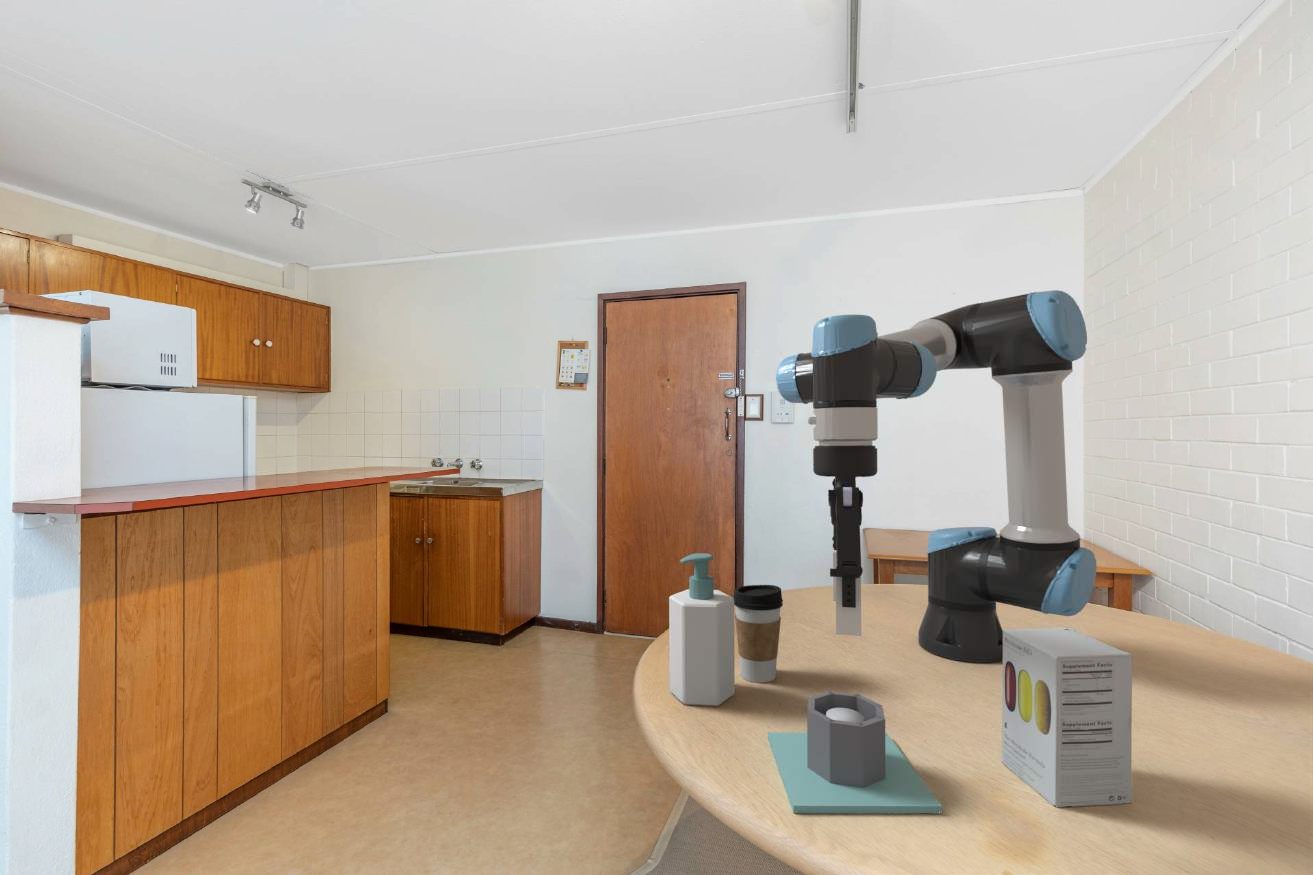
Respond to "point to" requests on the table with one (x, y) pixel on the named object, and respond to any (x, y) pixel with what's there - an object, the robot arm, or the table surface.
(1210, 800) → the table surface
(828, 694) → the hollow octagonal tube
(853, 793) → the teal base with peg
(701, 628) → the soap bottle
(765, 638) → the coffee cup
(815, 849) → the table surface
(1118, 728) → the supplement box
